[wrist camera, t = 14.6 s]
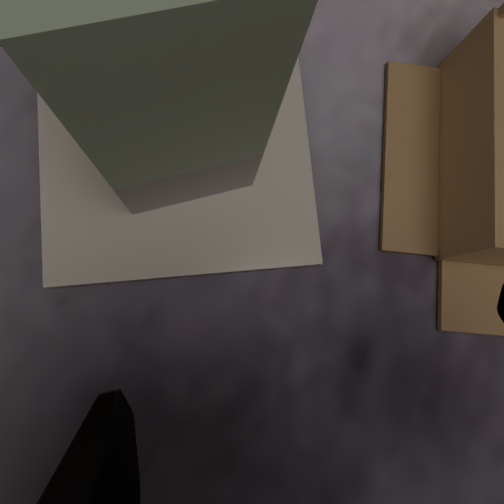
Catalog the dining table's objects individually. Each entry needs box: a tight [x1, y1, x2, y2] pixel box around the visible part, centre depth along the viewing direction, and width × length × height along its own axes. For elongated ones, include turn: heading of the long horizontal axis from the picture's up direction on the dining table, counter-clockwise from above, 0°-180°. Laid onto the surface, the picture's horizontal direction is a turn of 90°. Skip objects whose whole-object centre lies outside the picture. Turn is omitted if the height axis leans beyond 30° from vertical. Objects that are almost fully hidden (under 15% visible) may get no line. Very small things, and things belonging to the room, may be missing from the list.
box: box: [0, 0, 318, 215], centre depth 12 cm, size 5×5×11 cm
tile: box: [37, 57, 323, 288], centre depth 18 cm, size 11×11×1 cm
